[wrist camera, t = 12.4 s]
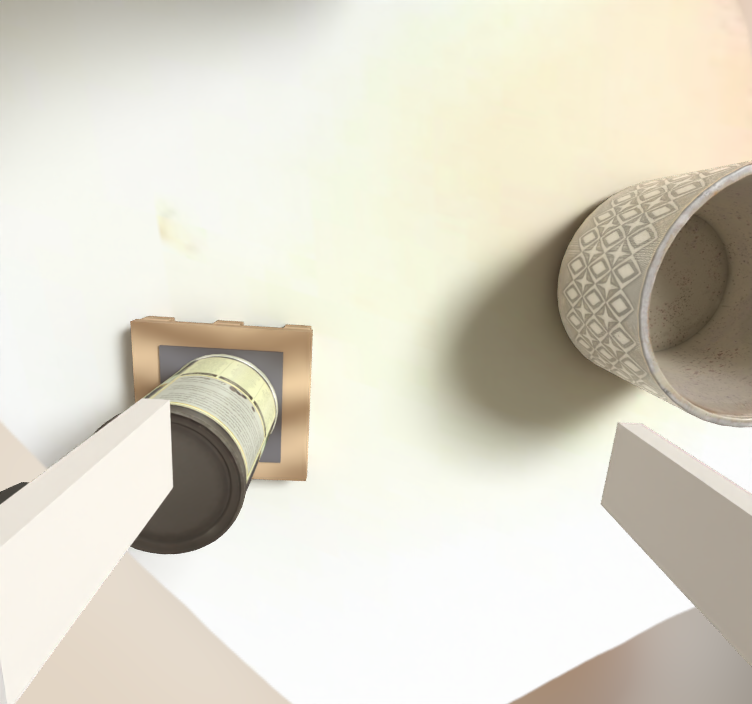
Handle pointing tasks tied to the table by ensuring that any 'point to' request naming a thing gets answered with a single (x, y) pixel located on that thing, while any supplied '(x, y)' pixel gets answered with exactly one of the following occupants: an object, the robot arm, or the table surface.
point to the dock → (254, 344)
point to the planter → (669, 290)
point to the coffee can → (209, 449)
